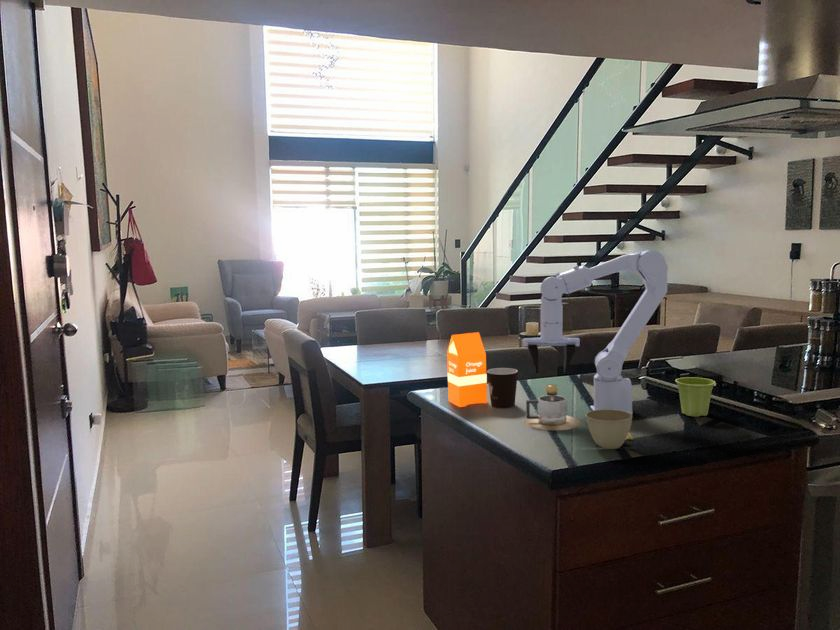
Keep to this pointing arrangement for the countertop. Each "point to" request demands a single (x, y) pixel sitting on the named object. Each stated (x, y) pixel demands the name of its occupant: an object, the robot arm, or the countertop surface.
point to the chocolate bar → (629, 436)
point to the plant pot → (695, 395)
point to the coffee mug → (502, 387)
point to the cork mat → (570, 424)
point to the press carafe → (549, 410)
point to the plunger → (551, 390)
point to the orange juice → (466, 370)
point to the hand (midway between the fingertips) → (551, 372)
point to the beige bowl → (609, 427)
